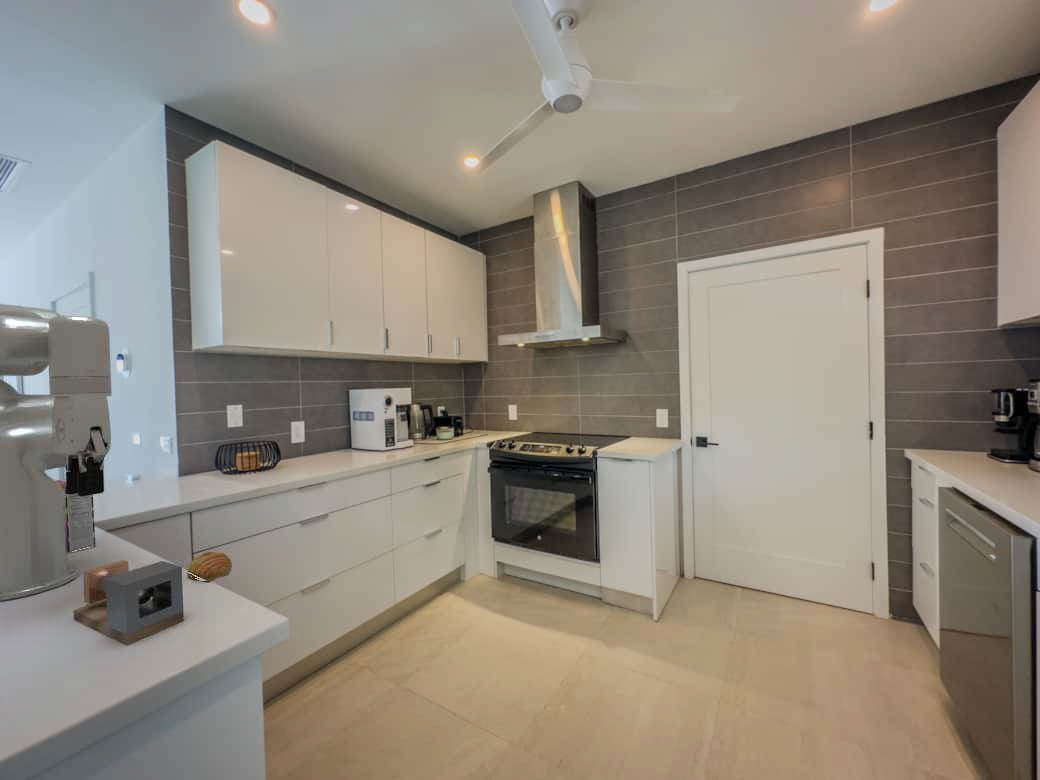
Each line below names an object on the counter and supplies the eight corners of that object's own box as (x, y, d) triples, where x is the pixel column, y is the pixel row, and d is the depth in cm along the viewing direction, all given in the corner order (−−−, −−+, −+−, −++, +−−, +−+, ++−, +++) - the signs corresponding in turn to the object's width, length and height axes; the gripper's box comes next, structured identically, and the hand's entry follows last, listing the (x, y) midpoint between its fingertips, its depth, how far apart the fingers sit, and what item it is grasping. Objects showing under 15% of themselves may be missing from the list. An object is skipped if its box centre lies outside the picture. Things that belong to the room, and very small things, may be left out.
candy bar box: (56, 546, 106) (54, 480, 106) (84, 539, 110) (82, 476, 111) (66, 554, 100) (64, 484, 100) (96, 547, 104) (94, 480, 104)
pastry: (241, 574, 85) (240, 555, 85) (200, 588, 79) (199, 567, 79) (223, 564, 90) (222, 546, 90) (183, 576, 85) (182, 557, 85)
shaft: (84, 602, 69) (83, 571, 69) (123, 588, 74) (122, 559, 74) (122, 618, 63) (120, 584, 63) (162, 602, 68) (161, 571, 68)
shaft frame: (73, 619, 69) (71, 566, 69) (128, 599, 75) (127, 551, 75) (127, 645, 61) (124, 585, 61) (183, 620, 67) (181, 566, 67)
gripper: (31, 390, 75) (35, 495, 75) (71, 386, 67) (76, 503, 67) (89, 389, 81) (93, 486, 81) (131, 386, 74) (135, 492, 74)
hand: (85, 492), depth 74 cm, fingers open, 3 cm apart
